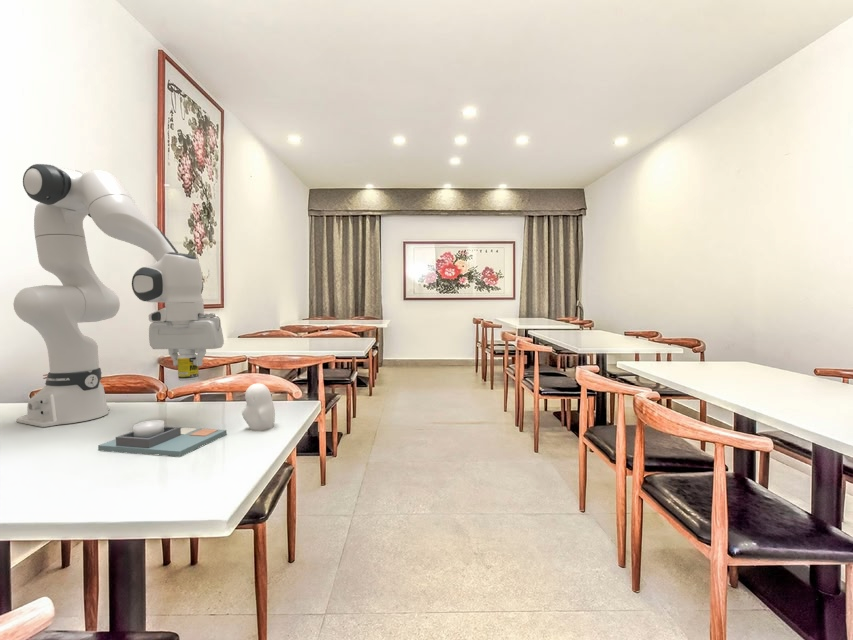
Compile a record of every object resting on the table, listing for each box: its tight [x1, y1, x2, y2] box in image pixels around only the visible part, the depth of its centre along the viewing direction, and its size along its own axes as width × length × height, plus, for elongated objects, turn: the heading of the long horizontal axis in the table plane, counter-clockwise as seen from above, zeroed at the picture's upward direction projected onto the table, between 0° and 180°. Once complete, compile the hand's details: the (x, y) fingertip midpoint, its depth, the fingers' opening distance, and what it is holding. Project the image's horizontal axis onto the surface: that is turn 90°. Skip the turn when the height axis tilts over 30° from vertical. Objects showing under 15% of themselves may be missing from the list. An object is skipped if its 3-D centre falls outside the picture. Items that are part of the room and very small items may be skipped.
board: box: [97, 425, 228, 457], centre depth 100 cm, size 22×15×3 cm
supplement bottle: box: [177, 349, 200, 382], centre depth 110 cm, size 5×5×8 cm
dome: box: [132, 419, 165, 438], centre depth 98 cm, size 6×6×4 cm
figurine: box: [241, 383, 276, 431], centre depth 111 cm, size 7×8×12 cm
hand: (188, 365), depth 110 cm, fingers closed on supplement bottle, 5 cm apart
